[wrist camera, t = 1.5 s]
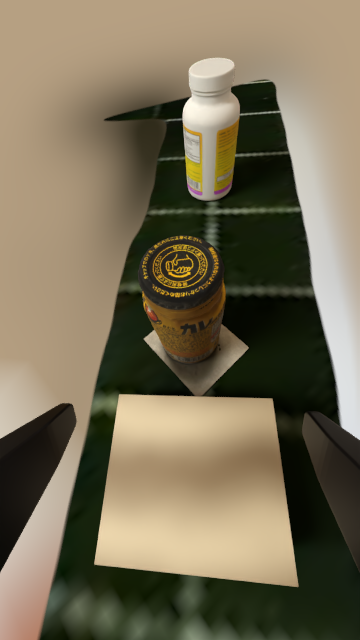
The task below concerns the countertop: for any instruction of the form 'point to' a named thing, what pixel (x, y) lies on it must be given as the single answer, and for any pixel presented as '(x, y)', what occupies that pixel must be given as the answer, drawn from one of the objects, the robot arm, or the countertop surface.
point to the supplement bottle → (210, 128)
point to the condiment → (188, 310)
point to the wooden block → (197, 490)
